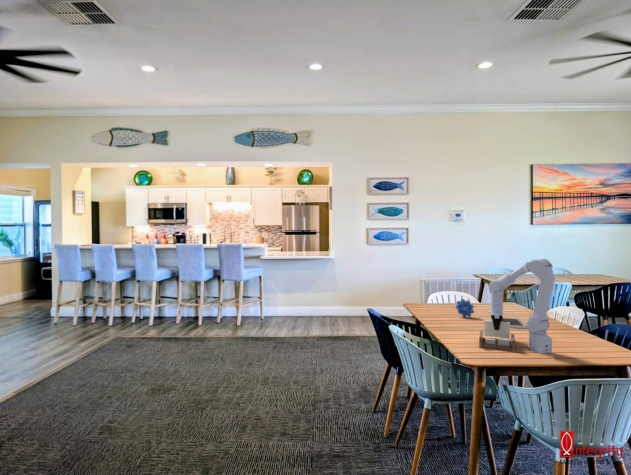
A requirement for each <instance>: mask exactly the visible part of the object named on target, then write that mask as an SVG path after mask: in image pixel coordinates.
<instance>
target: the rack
mask: <svg viewBox="0 0 631 475" xmlns="http://www.w3.org/2000/svg"><path fill="white" fill-rule="evenodd" d="M483 333H484V330H480V331H479V338H478V339H479V341H478V342H479V343H478V348H479V349H485V350H486V349H487V350H497V351H503V352H504V351H507V352H514V353H515V352H516V338H515V334H514V333H510V335H511V336H510V339H509V340H510V346H504V345H498V338H492V337H490V338H491V339H495V344H485V338H486V337H483V336H484V335H483Z"/></svg>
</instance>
